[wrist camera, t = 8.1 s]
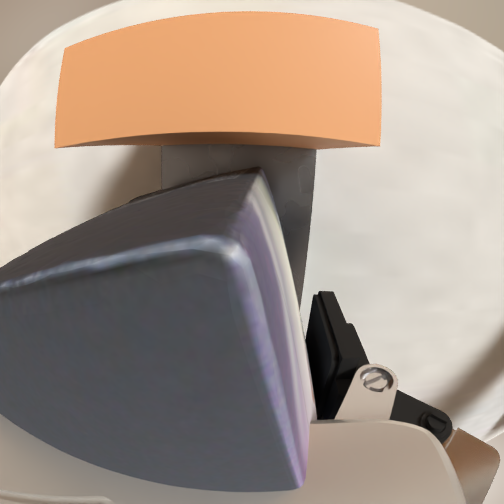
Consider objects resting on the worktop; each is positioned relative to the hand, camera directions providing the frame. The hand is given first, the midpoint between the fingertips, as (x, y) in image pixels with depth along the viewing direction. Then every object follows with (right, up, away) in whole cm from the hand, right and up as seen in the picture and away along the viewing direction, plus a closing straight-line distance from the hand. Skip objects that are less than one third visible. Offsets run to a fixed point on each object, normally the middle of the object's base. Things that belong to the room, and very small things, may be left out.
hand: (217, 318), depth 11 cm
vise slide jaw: (+1, +9, +2) cm, 9 cm away
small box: (0, +1, +2) cm, 3 cm away
